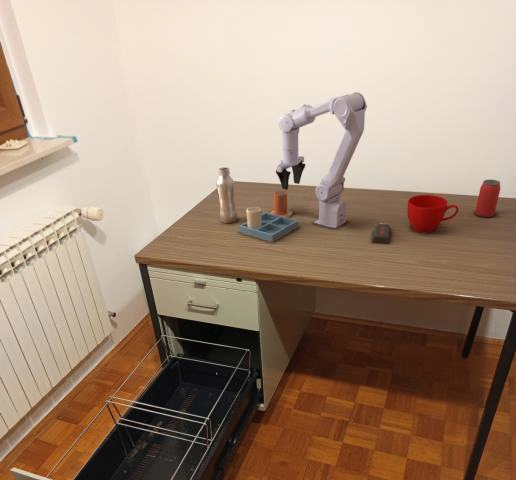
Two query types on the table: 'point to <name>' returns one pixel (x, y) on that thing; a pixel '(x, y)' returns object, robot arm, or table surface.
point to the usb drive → (382, 233)
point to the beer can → (488, 198)
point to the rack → (270, 227)
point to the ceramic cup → (427, 212)
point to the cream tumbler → (254, 217)
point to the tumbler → (280, 202)
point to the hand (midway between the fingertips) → (291, 186)
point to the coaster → (283, 215)
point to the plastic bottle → (226, 196)
